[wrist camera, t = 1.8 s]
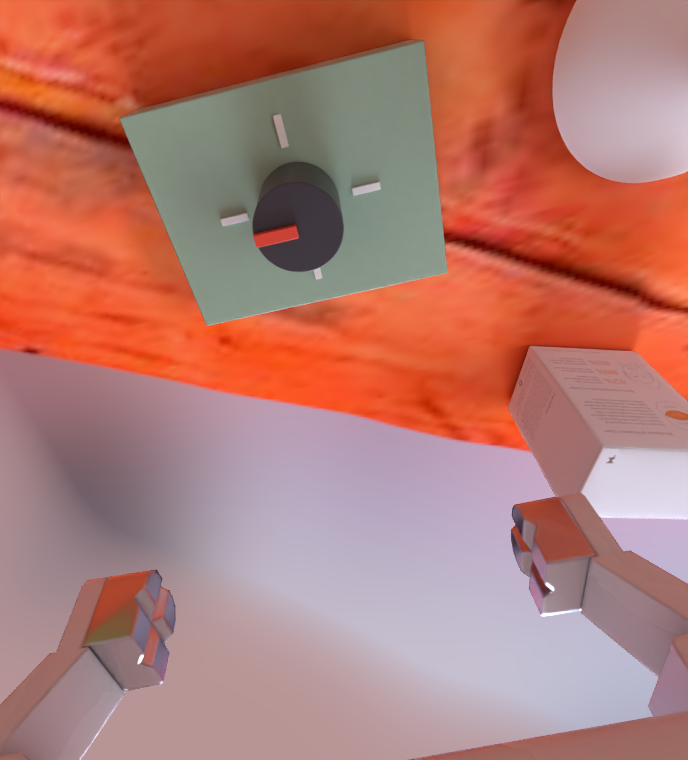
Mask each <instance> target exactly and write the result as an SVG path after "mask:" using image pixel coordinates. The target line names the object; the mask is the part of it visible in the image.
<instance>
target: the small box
mask: <svg viewBox="0 0 688 760" xmlns="http://www.w3.org/2000/svg"><path fill="white" fill-rule="evenodd" d="M508 410H509V412H510V414H511V415H512V417H513V419H514V421H515V423H516V425H517V427H518V428H519V430H520V432H521V434H522V436H523V438H524V440H525V441H526V443H527V445H528V447H529V448H530V450H531V452H532V454H533V456H534V458H535V459H536V461H537V463H538V465H539V466H540V468H541V470H542V472H543V474H544V476H545V478H546V479H547V481H548V483H549V485H550V487H551V489H552V490H553V492H554V494H555V496H556V497H560V496H566V495H571V494H577V493H582V494H583V495H585V496H586V498H587V499H588V501H589V502H590V504H591V505H592V506H593V508H594V509H595V511H596V512H597V514H598V515H599V517H600V518H648V519H650V518H652V519H653V518H655V519H688V401H687V400H686V399H685V398H683V397H682V396H681V395H680V394H679V393H678V392H677V391H676V390H675V389H674V388H673V387H672V386H671V385H670V384H669V383H668V382H667V381H666V380H665V379H664V378H663V377H662V376H661V375H660V374H659V373H658V372H657V371H655V370H654V369H653V368H652V367H651V366H650V365H649V364H648V363H647V362H646V361H645V360H644V359H643V358H642V357H641V356H640V355H639V354H638V353H637V352H635V351H619V350H601V349H582V348H564V347H545V346H530V347H529V349H528V352H527V355H526V358H525V361H524V363H523V366H522V369H521V372H520V375H519V378H518V380H517V383H516V386H515V389H514V392H513V395H512V397H511V400H510V403H509V406H508Z"/></svg>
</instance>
